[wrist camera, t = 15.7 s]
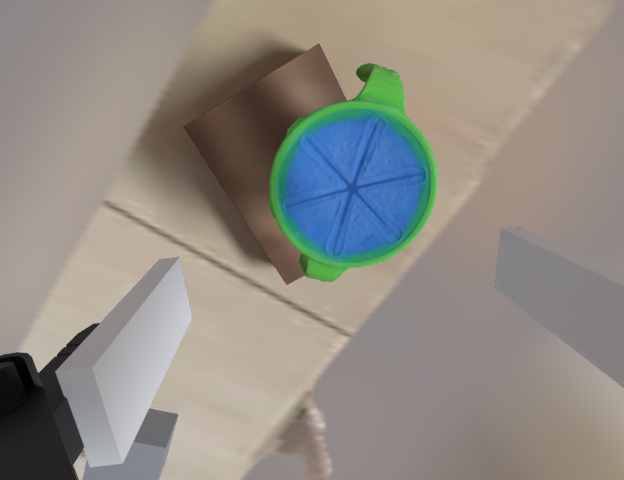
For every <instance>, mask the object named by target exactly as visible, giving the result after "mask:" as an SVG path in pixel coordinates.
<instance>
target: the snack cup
mask: <svg viewBox="0 0 624 480" xmlns="http://www.w3.org/2000/svg"><path fill="white" fill-rule="evenodd" d="M356 74H357V76H358V77H359V78H360V79H361V80H362V81H363V82H365V83H366V84H365V85H364V87H363V89H362V91H361V92H360V93H359V95H358V96H357V97H356V98H354V99H352V100H349V101H342V102H337V103H334V104H330V105H327V106H324V107H322V108H320V109H318V110H316V111H314V112H312V113H311V114H309V115H308V116H306V117H301V118H299V119H298V120H296V121H295V122H294V123H293V124H292V125H291V127H290V128H289V129H288V130H287V135H286V137H285V139H284V140H283V142H282V143H281V145H280V147H279V149H278V151H277V153H276V155H275V158H274V161H273V165H272V168H271V173H270V199H269V207H270V210H271V214H272V216H273V217H274V218H276V221H277V223H278V225H279V227H280V229H281V230H282V232H283V233H284V235H285V236H286V237H287V239H288V240H289V241H290V242H291V243H292V244H293V245H294V246H295V247H296V248H297V249H298V250H299V251H301V252H302V253H303V254H301V255H300V259H299V264H300V267H301V269H302V271H303V273H304V275H305V276H306V277H309V278H313V279H318V280H321V281H324V282H331V281H333V280H336V279H337V278H338V277H340V276H341V275H342V274H343V273H344V272H345V271H346V270H347V269H349V268H353V267H355V268H356V267H364V266H369V265H373V264H377V263H379V262H383V261H384V260H387V259H389V258H391V257H392V256H394V255H395V254H397V253H398V252H399V251H401V250H403V249H405V248H406V247H407V246H408V245H409V244H410V243H411V242H412V241H413V240H414V239H415V238H416V236H417V235H418V234H419V232H420V231H421V230H422V228H423V227H424V225H425V223H426V222H427V220H428V219H429V216H430V214H431V211H432V208H433V205H434V202H435V197H436V191H437V177H438V166H437V163H436V162H435V160H434V155H433V152H432V150H431V148H430V146H429V143H428V141H427V140H426V138H425V137H424V135H423V134H422V132H421V131H420V130H419V129H418V127H417V126H416V125H415V124H414V123H413V122H412V121H410V120H409V119H408V118H407V116H406V114H405V100H404V90H403V83H402V80H401V77H400V75H399V74H398V73H397V72H395V71H393V70H388V69H386V68H385V67H380V66H379V65H376V64H365V65H362V66H360V67H359V68H358V69H357V71H356Z"/></svg>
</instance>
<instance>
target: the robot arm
mask: <svg viewBox="0 0 624 480" xmlns="http://www.w3.org/2000/svg"><path fill="white" fill-rule="evenodd" d="M494 288H495V289H496V290H498V291H499V292H500V293H501V294H503V295H504V296H505V297H506V298H508V299H509V300H510V301H512V302H513V303H514V304H516V305H517V306H518V307H519V308H521V309H522V310H524V311H525V312H526V313H527V314H529V315H530V316H531V317H533V318H534V319H535V320H537V321H538V322H539V323H540V324H542V325H543V326H544V327H545V328H547V329H548V330H549V331H551V332H552V333H553V334H555V335H556V336H557V337H558V338H560V339H561V340H562V341H564V342H565V343H566V344H568V345H569V346H570V347H571V348H573V349H574V350H576V351H577V352H578V353H579V354H581V355H582V356H583V357H584V358H586V359H587V360H588V361H590V362H591V363H592V364H594V365H595V366H596V367H598V368H599V369H600V370H601V371H603V372H604V373H605V374H607V375H608V376H609V377H611V378H612V379H613V380H614V381H616V382H617V383H618V384H620V385H621V386H622V387H624V271H621V270H619V269H617V268H614V267H612V266H609V265H607V264H605V263H603V262H600V261H598V260H596V259H593V258H591V257H588V256H586V255H584V254H582V253H579V252H577V251H575V250H572V249H570V248H568V247H565V246H563V245H561V244H558V243H556V242H554V241H551V240H549V239H547V238H544V237H542V236H539V235H537V234H535V233H532V232H530V231H528V230H525V229H523V228H521V227H508V228H501V231H500V240H499V250H498V260H497V269H496V278H495V287H494ZM191 319H192V317H191V312H190V307H189V302H188V297H187V292H186V287H185V282H184V277H183V272H182V267H181V262H180V258H179V257H177V258H166V259H159V260H158V261H157V263H156V264H155V265H154V266H153V267H152V268H151V269H150V270H149V271H148V272H147V273H146V274H145V275H144V276H143V278H142V279H141V280H140V281H139V282H138V283H137V284H136V285H135V286H134V287H133V288H132V289H131V290H130V292H129V293H128V294H127V295H126V296H125V297H124V298H123V299H122V300H121V301H120V302H119V303H118V304H117V306H116V307H115V308H114V309H113V310H112V311H111V312H110V313H109V314H108V315H107V316H106V317H105V318H104V320H103V321H102V322H101V323H97V324H93V325H91V326H89V327H88V328H86V329H85V330H83V331H81V332H80V333H78V334H77V335H76V336H75V337H74V338H73V339H72V340H71V341H70V342H69V343H68V344H67V345H66V347H64V348H63V349H62V350H61V351H60V352H59V353H58V354H57V357H54V358H53V359H52V360H51V361H50V362H49V363H48V364H47V365H46V366H45V367H44V368H43V369H42V370H41V371H40V372H39V373H38V372H37V369H36V367H35V364H34V362H33V359H32V357H31V356H30V355H29V354H28V353H19V352H17V353H11V354H4V355H1V356H0V480H79V479H78V477H77V474H76V471H75V469H74V466H73V464H74V463H75V461H76V460H77V458H78V456H79V455H80V453H81V451H82V450H84V453H85V455H86V458H87V461H88V464H89V466H90V467H98V466H107V465H115V464H123V462H124V460H125V458H126V456H127V454H128V452H129V450H130V447H131V445H132V443H133V441H134V439H135V437H136V435H137V433H138V431H139V428H140V426H141V424H142V422H143V420H144V418H145V416H146V414H147V412H148V410H149V407H150V405H151V403H152V401H153V399H154V397H155V395H156V393H157V391H158V389H159V386H160V384H161V382H162V380H163V378H164V376H165V374H166V372H167V370H168V367H169V365H170V363H171V361H172V359H173V357H174V355H175V353H176V351H177V349H178V346H179V344H180V342H181V340H182V338H183V336H184V334H185V332H186V330H187V328H188V325H189V323H190V321H191Z"/></svg>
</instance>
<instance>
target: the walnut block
mask: <svg viewBox="0 0 624 480" xmlns="http://www.w3.org/2000/svg"><path fill="white" fill-rule="evenodd" d="M342 101H347V100H346V98H345V96H344V94H343V92H342V90H341V88H340V85H339V83H338V81H337V79H336V77H335V75H334V73H333V71H332V69H331V67H330V65H329V63H328V61H327V59H326V56H325V54H324V52H323V50H322V48H321V46H320V44H317V45H316V46H314V47H313V48H311V49H309V50H308V51H306V52H304V53H303V54H301V55H299V56H298V57H296V58H295V59H293V60H291V61H290V62H288V63H286V64H285V65H283V66H282V67H280V68H278V69H277V70H275V71H273V72H272V73H270V74H268V75H267V76H265V77H264V78H262V79H260V80H259V81H257V82H255V83H254V84H252V85H250V86H249V87H247V88H246V89H244V90H242V91H241V92H239V93H237V94H236V95H234V96H233V97H231V98H229V99H228V100H226V101H224V102H223V103H221V104H219V105H218V106H216V107H215V108H213V109H211V110H210V111H208V112H206V113H205V114H203V115H202V116H200V117H198V118H197V119H195V120H193V121H192V122H190V123H188V124H187V125H185V126H184V129H185V130H186V132H187V133H188V135H189V136H190V138H191V139H192V141H193V142H194V144H195V145H196V147H197V149H198V150H199V152H200V153H201V155H202V156H203V158H204V159H205V161H206V162H207V164H208V165H209V167H210V168H211V170H212V171H213V173H214V175H215V176H216V178H217V179H218V181H219V182H220V184H221V185H222V187H223V188H224V190H225V191H226V193H227V194H228V196H229V197H230V199H231V201H232V202H233V204H234V205H235V207H236V208H237V210H238V211H239V213H240V214H241V216H242V217H243V219H244V220H245V222H246V224H247V225H248V227H249V228H250V230H251V231H252V233H253V234H254V236H255V237H256V239H257V240H258V242H259V243H260V245H261V246H262V248H263V250H264V251H265V253H266V254H267V256H268V257H269V259H270V260H271V262H272V263H273V265H274V266H275V268H276V269H277V271H278V272H279V274H280V276H281V277H282V279H283V280H284V282H285V283H286V285H288V284H290V283H291V282H293V281H295V280H297V279H299V278H301V277H302V276H304V273H303V271H302V269H301V267H300V264H299V259H300V255H301V254H303V253H302V252H301V251H299V250H298V249H297V248H296V247H295V246H294V245H293V244H292V243H291V242H290V241H289V240H288V239H287V237H286V236H285V235H284V233H283V232H282V230H281V229H280V227H279V225H278V223H277V221H276V218H274V217H273V216H272V214H271V210H270V207H269V199H270V173H271V168H272V165H273V161H274V158H275V155H276V153H277V151H278V149H279V147H280V145H281V143H282V142H283V140H284V139H285V137H286V135H287V130H288V129H289V128H290V127H291V125H292V124H293V123H294V122H295V121H296V120H298V119H299V118H301V117H306V116H308V115H309V114H311V113H312V112H314V111H316V110H318V109H320V108H322V107H324V106H327V105H330V104H334V103H337V102H342Z"/></svg>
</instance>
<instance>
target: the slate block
mask: <svg viewBox="0 0 624 480" xmlns="http://www.w3.org/2000/svg"><path fill="white" fill-rule="evenodd" d="M177 418H178V414H174V413H169V412H164V411H159V410H154V409H149V410H148V412H147V414H146V416H145V418H144V420H143V422H142V424H141V426H140V428H139V431H138V433H137V435H136V437H135V439H134V441H133V443H132V445H131V447H130V450H129V452H128V454H127V456H126V458H125V460H124V462H123V464H115V465H107V466H98V467H90V466H89V464H88V461H86V466H85V472H84V477H83V480H159V478H160V475H161V472H162V470H163V467H164V464H165V461H166V458H167V454H168V450H169V447H170V443H171V439H172V436H173V432H174V428H175V425H176V421H177Z"/></svg>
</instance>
